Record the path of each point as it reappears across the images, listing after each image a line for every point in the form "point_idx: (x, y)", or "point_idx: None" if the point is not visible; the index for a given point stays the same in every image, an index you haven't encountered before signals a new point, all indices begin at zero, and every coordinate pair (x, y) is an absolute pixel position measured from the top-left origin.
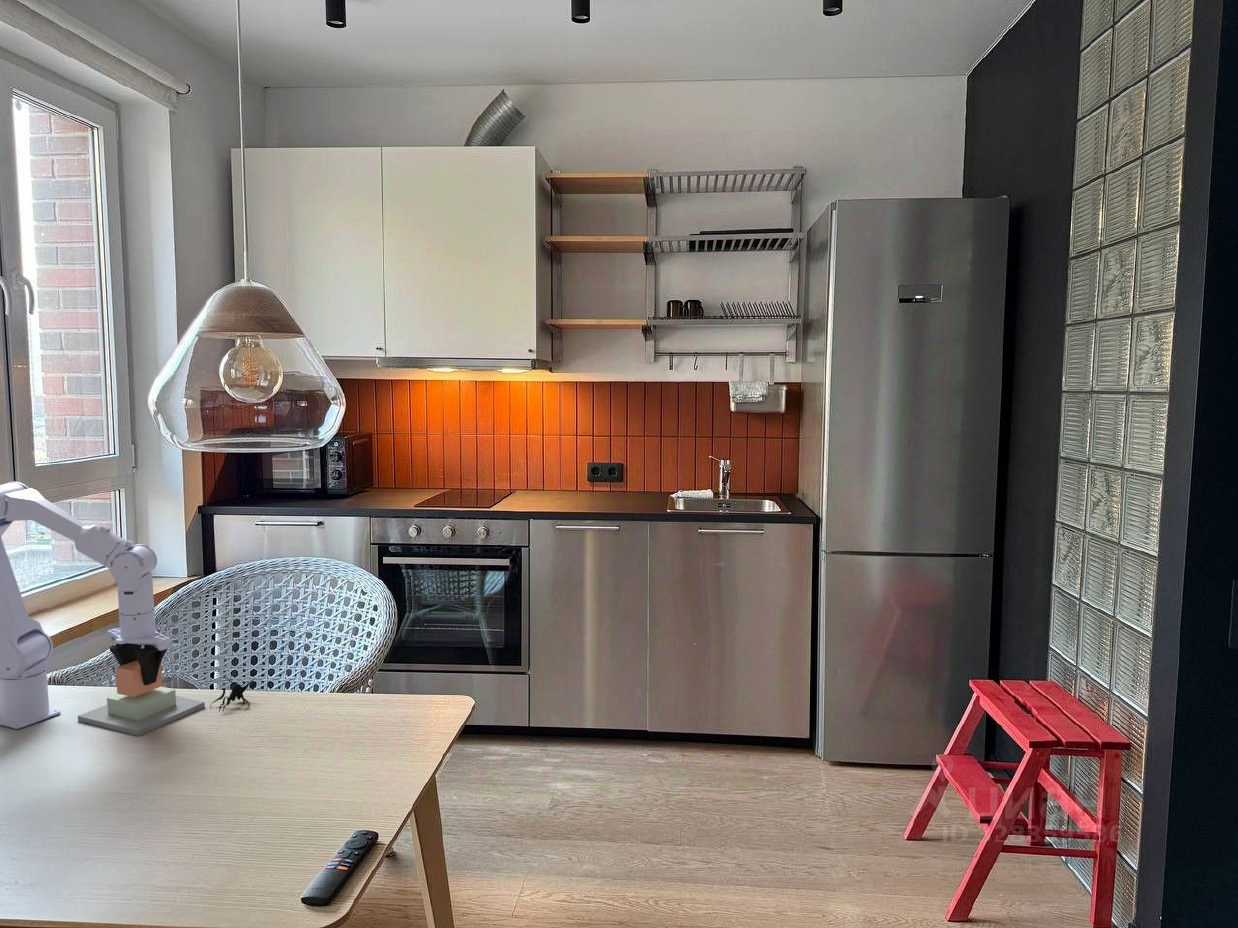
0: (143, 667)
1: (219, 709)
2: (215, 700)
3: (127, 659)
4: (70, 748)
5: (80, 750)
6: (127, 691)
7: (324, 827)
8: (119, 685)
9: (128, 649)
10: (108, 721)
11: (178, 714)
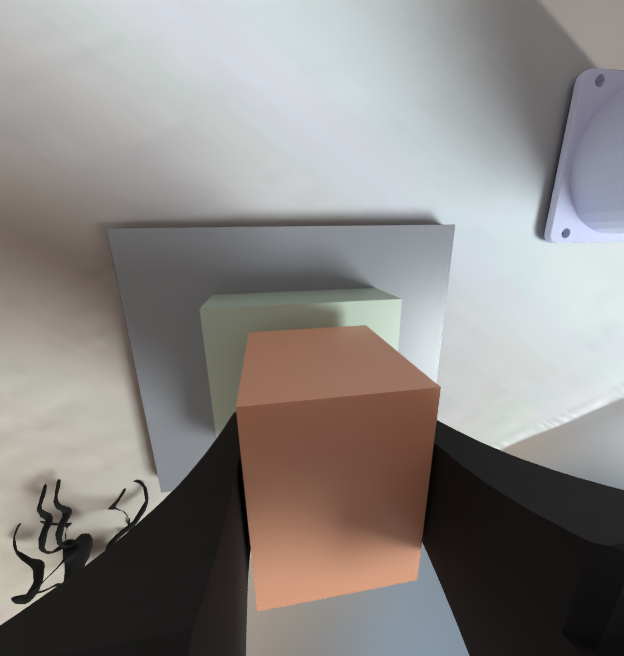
0: (186, 486)
1: (57, 486)
2: (138, 515)
3: (450, 502)
4: (242, 20)
5: (183, 20)
6: (293, 336)
7: None
8: (359, 340)
9: (516, 612)
10: (305, 238)
11: (143, 398)
